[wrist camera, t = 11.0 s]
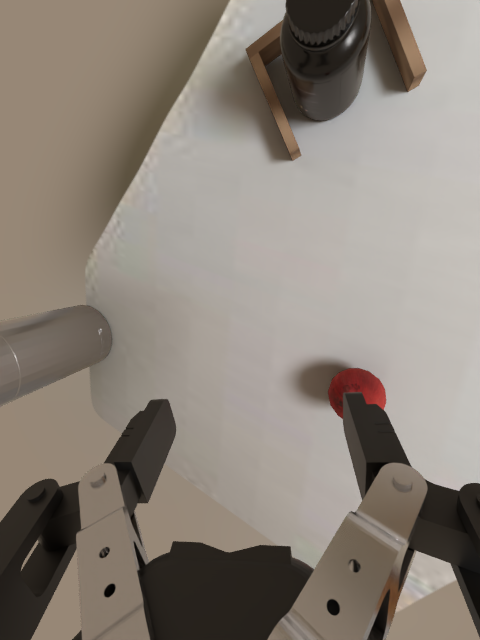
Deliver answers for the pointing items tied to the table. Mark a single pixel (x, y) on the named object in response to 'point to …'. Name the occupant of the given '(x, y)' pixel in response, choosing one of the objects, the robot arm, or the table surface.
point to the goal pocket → (398, 40)
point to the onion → (356, 388)
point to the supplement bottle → (325, 53)
